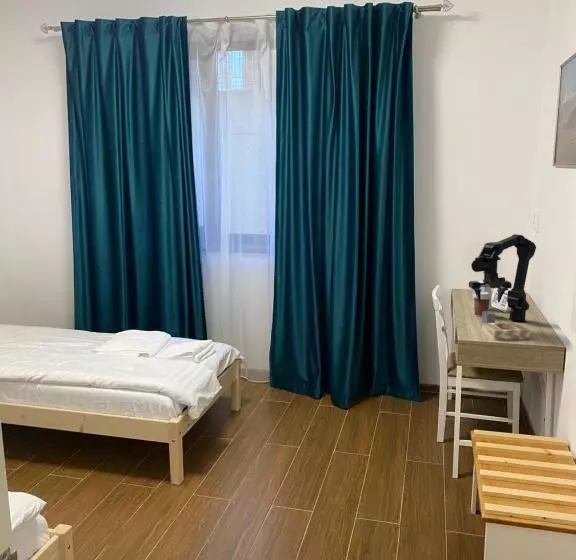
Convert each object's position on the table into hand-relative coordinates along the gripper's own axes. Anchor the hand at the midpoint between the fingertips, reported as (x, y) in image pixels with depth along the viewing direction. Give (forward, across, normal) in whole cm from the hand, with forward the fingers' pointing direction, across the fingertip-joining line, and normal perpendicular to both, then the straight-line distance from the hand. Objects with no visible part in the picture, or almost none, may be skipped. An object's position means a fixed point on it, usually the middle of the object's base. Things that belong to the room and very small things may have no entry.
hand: (489, 302), depth 289 cm
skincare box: (+12, +11, +38) cm, 41 cm away
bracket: (+12, 0, 0) cm, 12 cm away
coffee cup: (+12, +5, +23) cm, 26 cm away
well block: (+12, +2, -14) cm, 19 cm away
